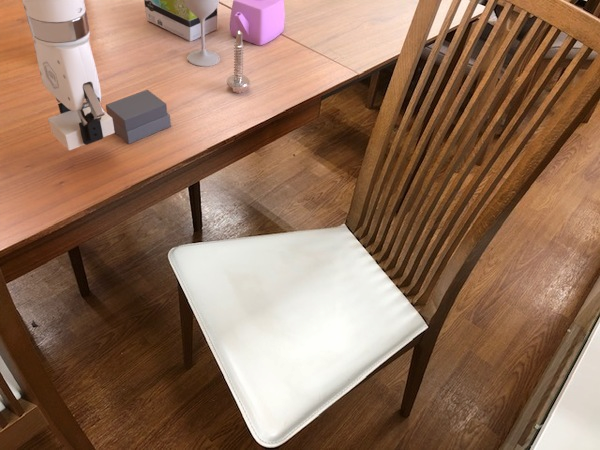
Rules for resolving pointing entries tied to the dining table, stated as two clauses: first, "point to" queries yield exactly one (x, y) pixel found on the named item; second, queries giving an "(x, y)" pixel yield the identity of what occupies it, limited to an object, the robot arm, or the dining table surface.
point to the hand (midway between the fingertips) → (83, 130)
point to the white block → (75, 127)
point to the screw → (238, 67)
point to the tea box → (178, 18)
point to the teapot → (257, 20)
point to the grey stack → (138, 116)
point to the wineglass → (202, 32)
